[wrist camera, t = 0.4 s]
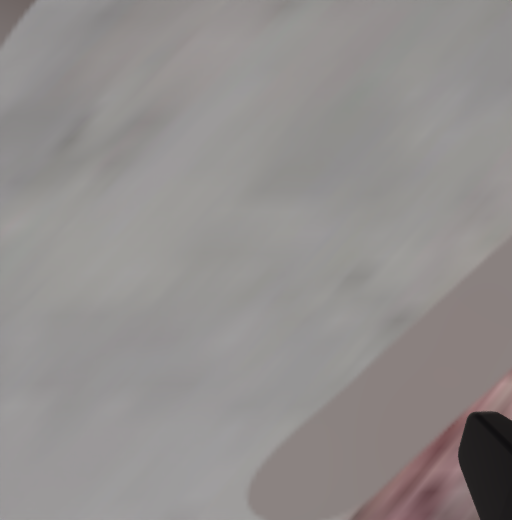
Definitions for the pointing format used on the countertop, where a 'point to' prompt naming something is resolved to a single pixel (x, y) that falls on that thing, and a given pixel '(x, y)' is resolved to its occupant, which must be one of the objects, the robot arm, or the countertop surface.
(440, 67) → the countertop surface
